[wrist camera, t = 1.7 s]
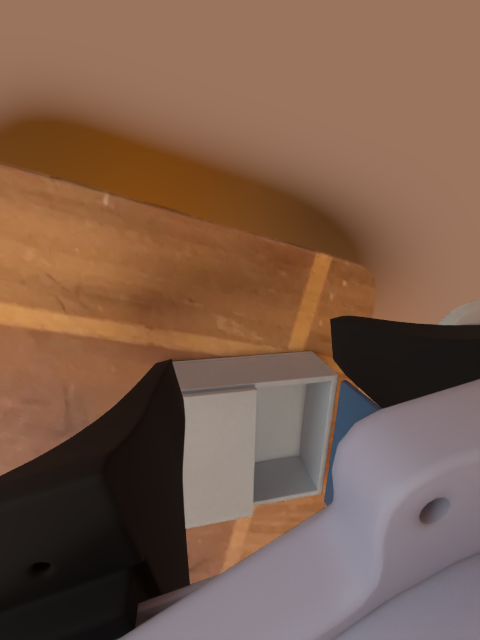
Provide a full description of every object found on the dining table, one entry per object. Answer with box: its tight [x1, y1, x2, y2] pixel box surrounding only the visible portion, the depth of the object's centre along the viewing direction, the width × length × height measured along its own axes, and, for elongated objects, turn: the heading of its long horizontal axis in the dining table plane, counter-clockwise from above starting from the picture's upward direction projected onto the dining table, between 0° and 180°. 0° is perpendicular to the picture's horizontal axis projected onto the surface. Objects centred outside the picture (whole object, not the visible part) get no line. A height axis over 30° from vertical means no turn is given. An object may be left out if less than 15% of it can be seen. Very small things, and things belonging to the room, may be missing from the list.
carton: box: [172, 351, 338, 529], centre depth 23 cm, size 13×12×5 cm
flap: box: [324, 380, 382, 506], centre depth 19 cm, size 6×12×1 cm
